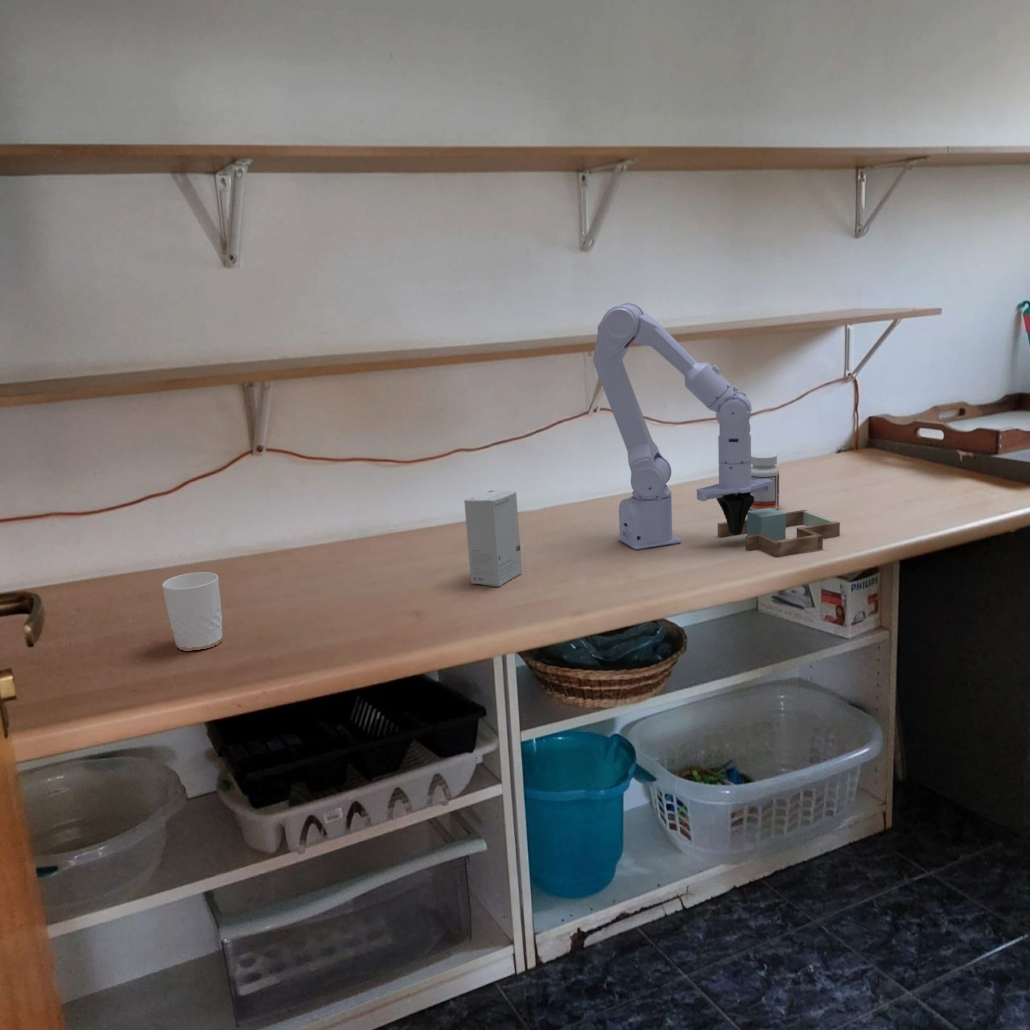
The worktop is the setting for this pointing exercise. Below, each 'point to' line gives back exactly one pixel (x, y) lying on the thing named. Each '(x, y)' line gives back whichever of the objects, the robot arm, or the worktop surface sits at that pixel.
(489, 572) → the skincare box
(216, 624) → the white cup
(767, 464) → the pill bottle
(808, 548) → the brown frame
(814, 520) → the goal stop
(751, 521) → the teal block
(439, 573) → the worktop surface
